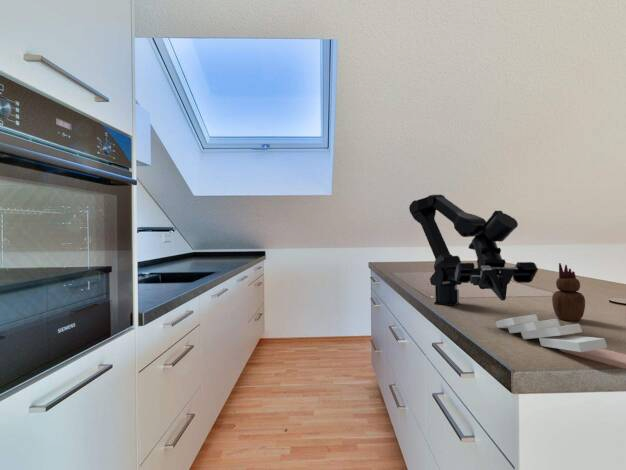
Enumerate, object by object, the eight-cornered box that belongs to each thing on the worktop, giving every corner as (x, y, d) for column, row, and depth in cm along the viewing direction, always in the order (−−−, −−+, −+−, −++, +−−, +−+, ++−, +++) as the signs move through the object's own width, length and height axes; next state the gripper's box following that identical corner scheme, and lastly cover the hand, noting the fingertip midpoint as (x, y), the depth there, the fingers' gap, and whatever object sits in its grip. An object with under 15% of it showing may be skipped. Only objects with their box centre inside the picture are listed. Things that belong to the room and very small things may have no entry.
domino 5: (559, 346, 65) (625, 363, 56) (572, 341, 67) (637, 357, 58) (559, 354, 65) (625, 372, 56) (573, 349, 67) (638, 366, 58)
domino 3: (520, 331, 72) (557, 326, 63) (540, 329, 73) (579, 323, 64) (523, 339, 72) (560, 335, 62) (543, 336, 72) (582, 331, 63)
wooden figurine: (555, 320, 85) (553, 263, 85) (550, 315, 90) (549, 261, 90) (588, 323, 81) (586, 264, 81) (581, 318, 87) (580, 262, 86)
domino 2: (507, 326, 76) (533, 321, 67) (527, 323, 76) (556, 318, 67) (509, 333, 76) (536, 329, 66) (530, 330, 76) (560, 326, 67)
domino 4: (538, 337, 67) (578, 342, 58) (561, 334, 68) (604, 338, 58) (541, 345, 67) (580, 352, 57) (564, 342, 67) (607, 347, 58)
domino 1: (495, 321, 81) (512, 317, 72) (516, 318, 80) (535, 313, 71) (497, 327, 80) (514, 324, 71) (518, 324, 80) (538, 321, 71)
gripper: (515, 269, 94) (534, 317, 84) (447, 270, 98) (458, 315, 87) (527, 243, 87) (550, 292, 76) (453, 245, 90) (465, 292, 79)
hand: (503, 299), depth 80 cm, fingers closed
